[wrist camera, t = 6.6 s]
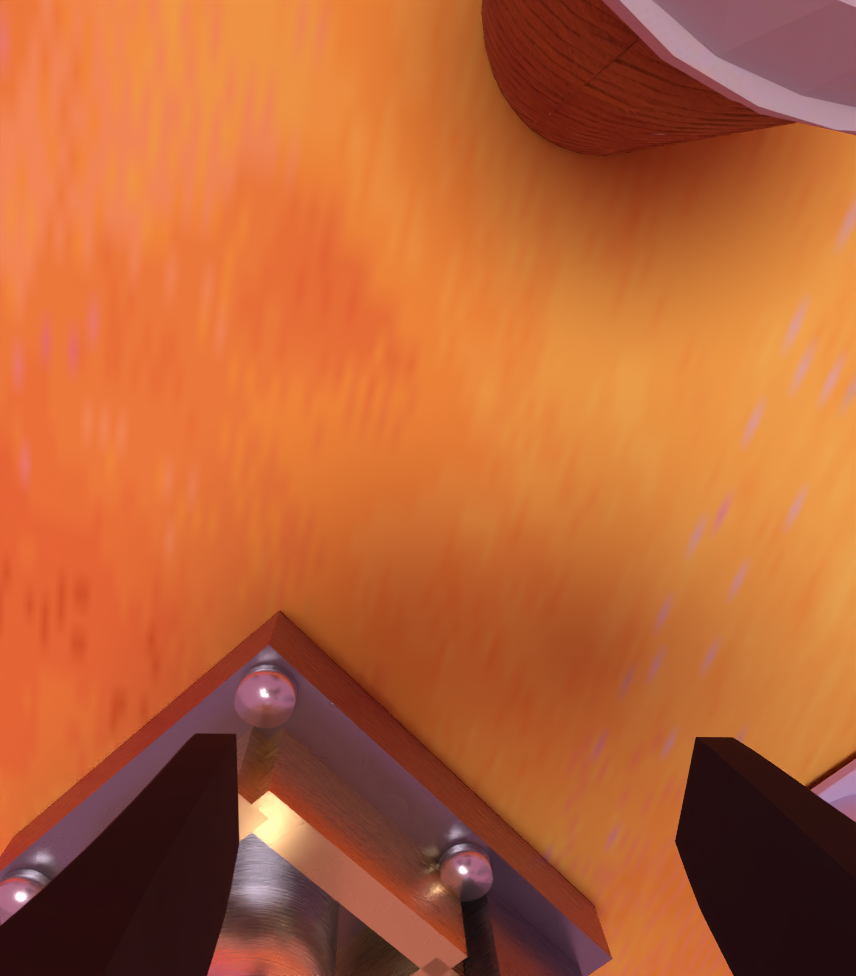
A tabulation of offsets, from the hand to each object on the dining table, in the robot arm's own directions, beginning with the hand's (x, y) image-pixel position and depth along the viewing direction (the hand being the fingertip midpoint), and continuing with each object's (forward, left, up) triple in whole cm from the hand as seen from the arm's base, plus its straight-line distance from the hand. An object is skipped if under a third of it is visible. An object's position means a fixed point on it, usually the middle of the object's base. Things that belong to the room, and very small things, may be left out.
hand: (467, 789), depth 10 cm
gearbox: (-6, +11, -10) cm, 16 cm away
